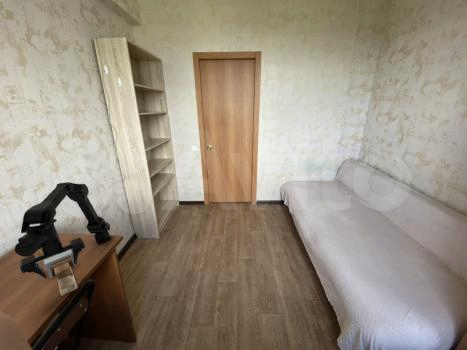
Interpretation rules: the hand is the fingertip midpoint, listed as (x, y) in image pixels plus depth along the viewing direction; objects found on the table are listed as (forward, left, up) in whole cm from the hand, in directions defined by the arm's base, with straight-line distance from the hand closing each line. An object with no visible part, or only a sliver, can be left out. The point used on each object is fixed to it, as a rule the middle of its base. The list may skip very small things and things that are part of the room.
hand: (61, 270), depth 81 cm
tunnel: (0, -19, -11) cm, 22 cm away
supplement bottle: (+4, -40, -11) cm, 42 cm away
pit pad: (0, -27, -11) cm, 29 cm away
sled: (0, -7, -11) cm, 13 cm away
